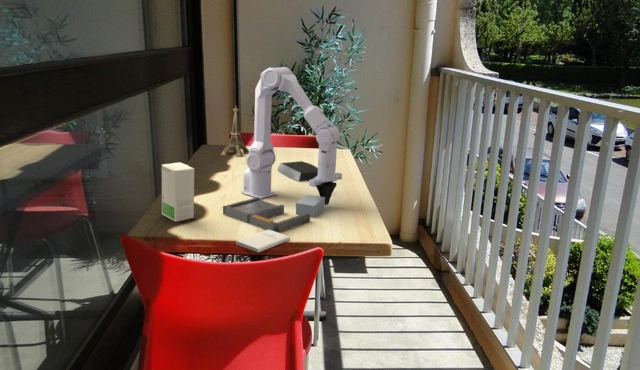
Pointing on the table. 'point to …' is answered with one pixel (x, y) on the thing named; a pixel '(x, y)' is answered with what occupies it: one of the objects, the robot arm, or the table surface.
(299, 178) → the external hard drive
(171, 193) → the skincare box
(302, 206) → the light grey rectangular block
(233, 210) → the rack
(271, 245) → the external hard drive
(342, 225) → the table surface
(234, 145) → the eiffel tower
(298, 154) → the table surface
